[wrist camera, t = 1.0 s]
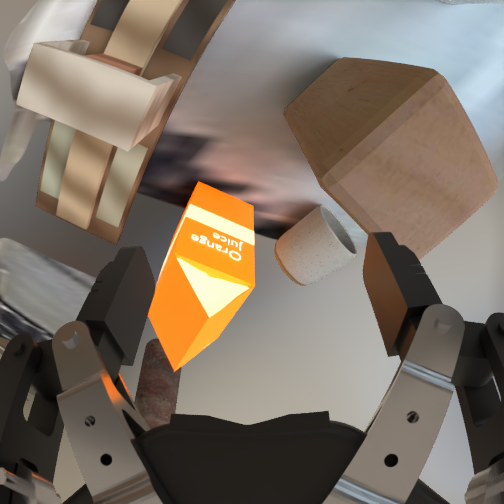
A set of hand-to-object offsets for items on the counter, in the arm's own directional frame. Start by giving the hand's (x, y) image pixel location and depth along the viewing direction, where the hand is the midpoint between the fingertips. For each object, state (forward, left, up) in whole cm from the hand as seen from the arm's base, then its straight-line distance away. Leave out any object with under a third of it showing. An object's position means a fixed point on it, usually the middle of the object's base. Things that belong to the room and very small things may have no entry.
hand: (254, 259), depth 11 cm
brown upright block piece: (+44, +6, -26) cm, 52 cm away
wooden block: (-6, +8, -26) cm, 28 cm away
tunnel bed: (+2, -15, -26) cm, 30 cm away
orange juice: (+14, +2, -26) cm, 30 cm away
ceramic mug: (+10, +16, -26) cm, 32 cm away
